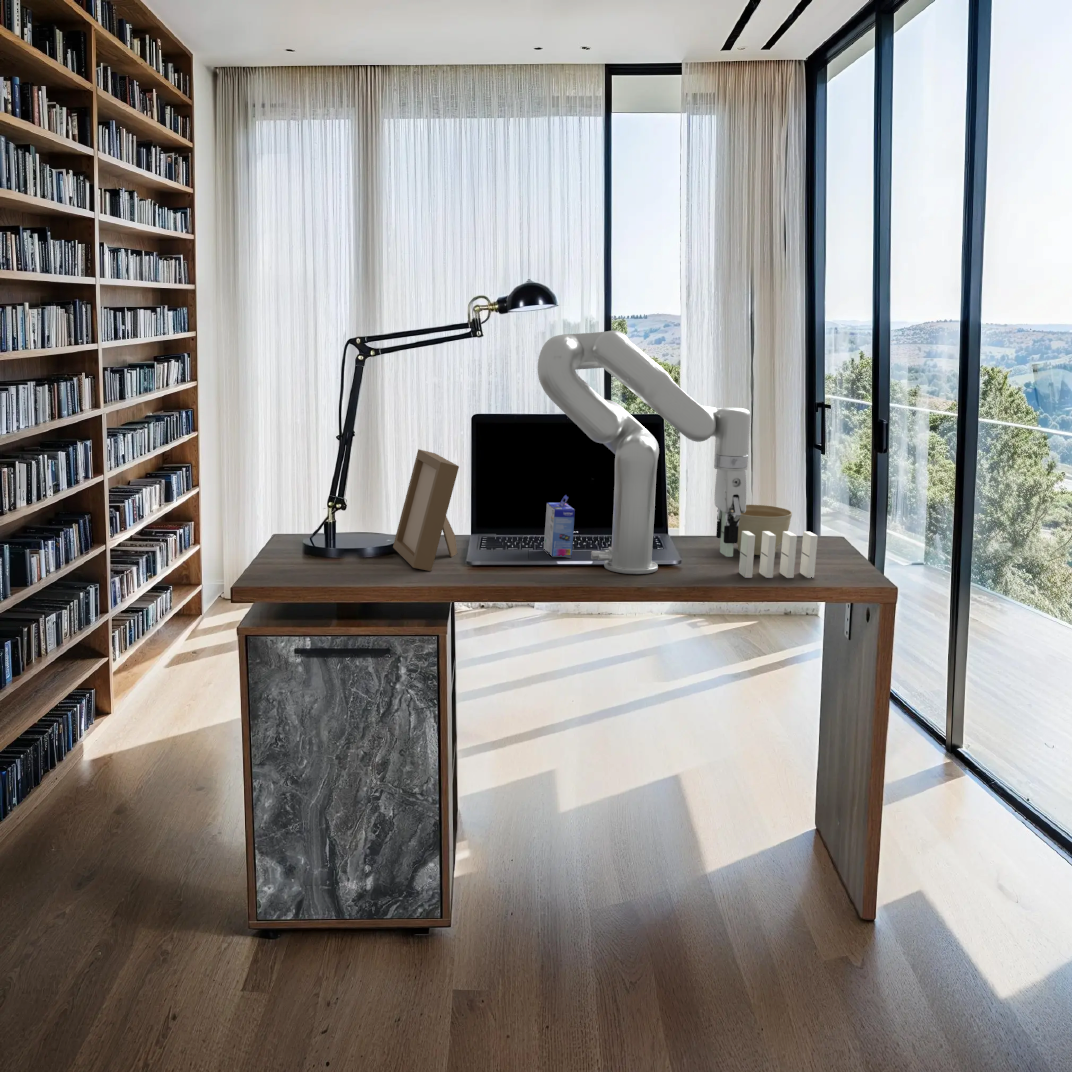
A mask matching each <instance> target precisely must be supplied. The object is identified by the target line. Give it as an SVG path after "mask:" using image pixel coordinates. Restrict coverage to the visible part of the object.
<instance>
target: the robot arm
mask: <svg viewBox="0 0 1072 1072" xmlns="http://www.w3.org/2000/svg"><path fill="white" fill-rule="evenodd" d="M538 355H539V356H538V359H537V377H538V379H539V383H540V386H541V388H542V390H543V391H544V393H545V394H546V395H547V397H548V398H549V399H550V400H551V401H552V402H553V403H554V405H556V406H557V408H558V409H560V410H561V411H562V412H563V413H564V414H565V415H566V416H567V417H568V418H569V420H571V421H572V422H573V423H574V424H575V425H577V427H578V428H579V429H580V430H581V431H582V432H583V433H584V434H586V436H587V438H589V439H590V440H592V441H593V442H595V443H599V444H603V445H604V446H605V447H606V448H608V450H610V451H611V452H612V454H614V455H615V456H614V457H615V458H614V487H613V489H614V490H613V512H612V513H613V514H612V535H611V546H608V549H604V551H599V550H598V551H597V550H592V551H591V552H590V554H591V555H590V558H591V559H590V560H598V561H604V563H603V566H604V568H605V569H606V570H608V571H609V572H610V571H611V572H615V573H619V574H628V575H645V574H652V573H654V572H657V571H658V568H659V566H658V563H656V562H655V561H653V560H652V559H653V558H652V557H653V546H654V545H653V541H654V524H655V510H656V508H655V506H656V489H657V488H656V487H657V485H656V484H657V471H658V470H657V469H658V460H659V454H660V448H659V447H660V446H659V443H658V441H657V439H656V438H655V436H654V435H653V434H652V433H651V432H650V431H649V430H648V429H647V428H645V426H643V425H642V424H641V423H640V422H639V421H638V420H637V419H636V418H635V417H634V416H633V415H631V413H629V411H627V410H626V409H625V408H624V407H623V406H621V405H620V403H617V402H616V401H614V400H611V399H610V400H609V399H605V398H603V397H602V396H601V395H600V394H599V393H598V392H597V391H595V390H594V389H593V388H592V387H591V386H590V385H589V384H588V382H586V381H585V380H583V379H582V378H581V377H580V375H578V373H577V371H576V370H590V369H591V370H593V369H604V370H605V371H606V372H607V373H609V374H610V375H611V376H612V377H613V378H615V379H617V380H618V381H619V382H620V383H621V384H622V385H623V386H625V387H626V388H627V389H628V390H630V391H631V392H632V393H633V394H634V395H635V396H637V397H638V398H639V399H640V400H641V401H642V402H643V403H644V404H645V405H647V406H648V407H650V408H651V409H652V410H653V411H654V412H655V413H657V414H658V415H659V416H660V417H661V418H662V419H663V420H665V421H666V422H667V423H668V424H669V425H670V426H672V427H673V428H674V429H676V430H677V431H678V432H679V433H680V434H682V435H683V436H684V437H685V438H686V439H688V440H691V441H692V442H695V443H696V442H697V443H699V442H700V443H701V442H704V441H707V440H709V439H710V438H711V437H715V439H714V440H715V444H714V462H713V468H714V469H715V470H716V475H715V485H714V506H715V508H717V514H716V535H715V537H716V538H717V539H721V520H722V511H723V512H725V513H726V526H724V543H734V544H736V543H737V542H738V527H739V519H740V516H741V513H745V512H746V505H747V475H746V473H747V472H746V471H747V470H748V463H749V444H750V443H749V442H750V427H751V414H750V411H749V410H748V409H746V408H743V407H715V406H709V405H702V404H700V403H698V402H697V401H696V400H694V398H693V397H691V396H690V395H689V394H687V392H685V391H684V390H683V389H682V388H681V387H679V385H678V384H677V383H676V382H675V381H674V380H673V378H672V377H671V375H670V374H669V373H668V372H667V371H666V370H665V369H664V368H663V367H662V366H661V365H660V364H658V363H657V362H656V361H655V360H654V359H652V358H651V357H650V356H649V355H648V354H646V353H645V352H644V351H643V350H642V349H640V348H639V347H638V346H637V345H635V344H634V343H633V342H632V341H631V340H630V338H629V337H628V336H627V335H626V334H625V333H623V332H621V331H619V330H608V331H599V332H583V333H581V332H580V333H565V334H559V335H555V336H552V337H550V338H549V339H548V340H546V342H545V343H544V344H543V345H542V347H541V349H540V352H539V354H538ZM731 510H733V512H729V511H731ZM729 515H733V516H731V517H730V520H729Z"/></svg>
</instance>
